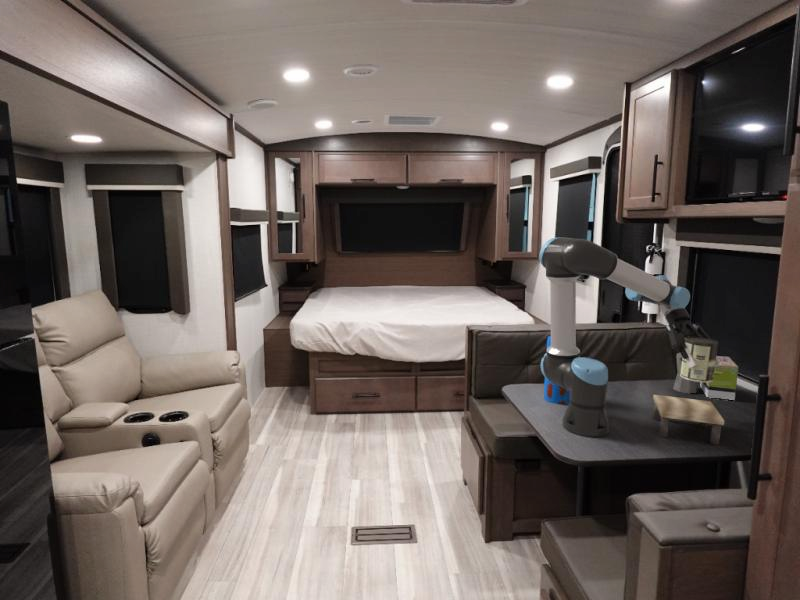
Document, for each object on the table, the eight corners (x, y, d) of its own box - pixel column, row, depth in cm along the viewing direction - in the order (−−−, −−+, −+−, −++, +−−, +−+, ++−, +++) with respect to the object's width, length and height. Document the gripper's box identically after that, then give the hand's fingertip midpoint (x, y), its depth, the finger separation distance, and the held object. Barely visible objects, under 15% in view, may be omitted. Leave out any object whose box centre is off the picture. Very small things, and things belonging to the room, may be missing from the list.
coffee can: (701, 374, 182) (707, 336, 180) (719, 383, 172) (725, 344, 170) (673, 373, 182) (678, 335, 180) (689, 382, 172) (695, 343, 170)
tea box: (698, 386, 216) (702, 353, 213) (725, 389, 212) (730, 356, 210) (706, 398, 202) (710, 363, 199) (735, 401, 198) (739, 366, 196)
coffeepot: (688, 396, 203) (693, 354, 200) (665, 390, 211) (669, 348, 208) (706, 389, 212) (711, 348, 209) (683, 383, 220) (687, 343, 217)
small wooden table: (658, 436, 165) (661, 412, 164) (651, 416, 182) (653, 394, 181) (721, 445, 159) (724, 420, 158) (707, 424, 176) (710, 401, 175)
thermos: (575, 404, 193) (580, 342, 189) (547, 404, 193) (551, 341, 189) (566, 394, 204) (571, 335, 200) (540, 394, 204) (544, 334, 200)
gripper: (691, 317, 192) (722, 369, 180) (644, 318, 185) (672, 372, 173) (705, 306, 186) (738, 359, 174) (656, 307, 179) (687, 362, 167)
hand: (705, 365), depth 173 cm, fingers closed on coffee can, 10 cm apart
